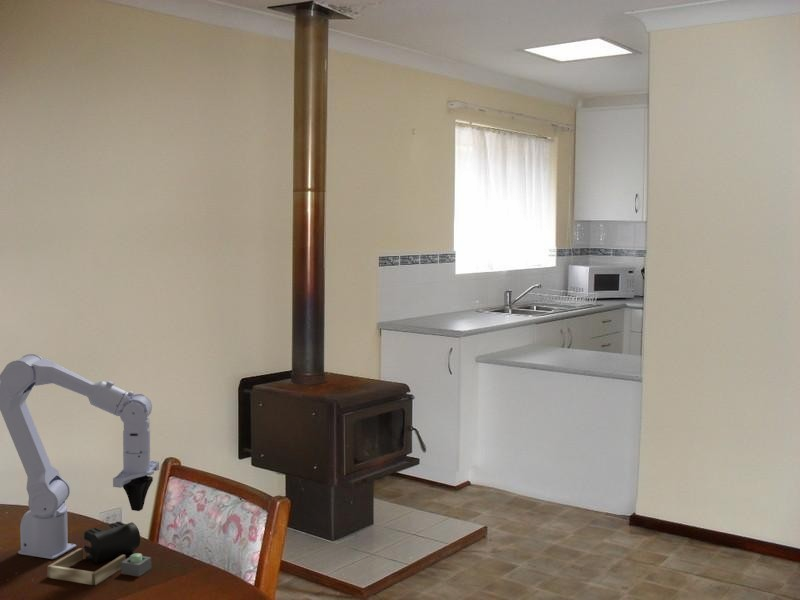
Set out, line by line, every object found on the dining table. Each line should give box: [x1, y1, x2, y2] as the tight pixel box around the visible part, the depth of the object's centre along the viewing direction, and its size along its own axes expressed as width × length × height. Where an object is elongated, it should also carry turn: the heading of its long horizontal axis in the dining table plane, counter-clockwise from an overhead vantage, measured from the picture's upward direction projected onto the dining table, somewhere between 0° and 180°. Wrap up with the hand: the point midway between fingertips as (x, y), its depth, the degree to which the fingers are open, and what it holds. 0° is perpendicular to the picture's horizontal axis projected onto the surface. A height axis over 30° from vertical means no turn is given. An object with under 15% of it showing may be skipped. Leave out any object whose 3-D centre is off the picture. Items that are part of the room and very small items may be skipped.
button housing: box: [120, 555, 152, 578], centre depth 182 cm, size 4×4×2 cm
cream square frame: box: [46, 547, 127, 586], centre depth 181 cm, size 12×10×2 cm
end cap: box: [83, 521, 141, 564], centre depth 189 cm, size 10×7×7 cm
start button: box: [129, 552, 143, 563], centre depth 182 cm, size 2×2×3 cm
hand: (137, 509), depth 192 cm, fingers closed
